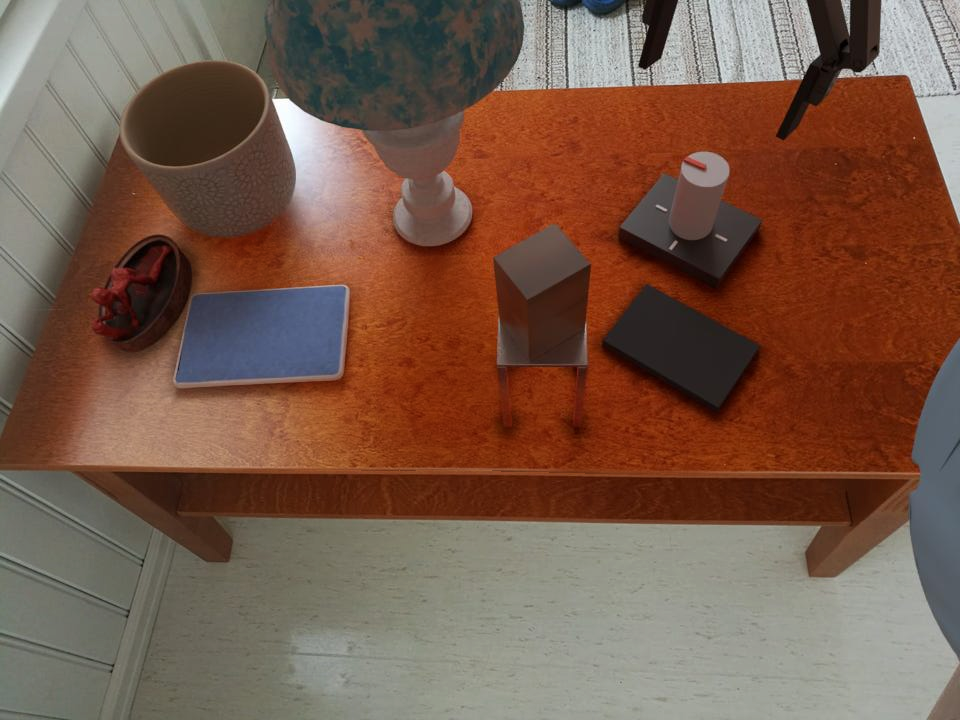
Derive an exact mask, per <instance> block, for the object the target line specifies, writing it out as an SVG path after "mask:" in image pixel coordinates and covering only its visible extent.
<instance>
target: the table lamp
mask: <svg viewBox="0 0 960 720" xmlns="http://www.w3.org/2000/svg"><path fill="white" fill-rule="evenodd" d="M524 21H525V20H524V16H523V9H522V4H521V0H266V1H265V10H264V30H265V31H264V32H265V40H266V48H267V54H268V59H269V64H270V69H271V72H272V75H273V76H274V78H275V81H276V83H277V85H278V87H279V89H280V90H281V91H282V93H283V94H284V95H285V96H286V97H287V99H288V100H289V101H290V102H291V103H292V104H294V105H295V106H296V107H298V108H299V109H300V110H301V111H302V112H304V113H306V114H308V115H310V116H312V117H314V118H315V119H318V120H319V121H322V122H325V123H327V124H331V125H334V126H338V127H341V128H347V129H352V130H353V129H354V130H360V131H362V134H363V135H364V137H365V138H366V140H367V141H368V143H370V145H371V146H373V148H374V149H375V152H376V154H377V156H378V157H379V159H380V160H381V161H382V163H383V164H384V165H385V167H386V168H388V170H390V171H391V172H392V173H394V174H395V175H397V176H398V177H401V178H402V179H403V178H404V180H403V181H402V183H401V186H400V194H401V197H400V199H399V200H398V201H397V203H396V205H395V207H394V209H393V213H392V214H393V215H392V222H393V226H394V228H395V230H396V232H397V234H398V235H400V237H401V238H402V239H404V240H405V241H407V242H409V243H411V244H414V245H415V246H421V247H438V246H442V245H445V244H448V243H450V242H452V241H454V240H456V239H457V238H459V237H460V236H462V234H463V233H465V231H466V230H467V229H468V227H469V226H470V224H471V221H472V218H473V205H472V202H471V199H469V197H468V196H467V194H465V193H464V192H463V191H462V190H461V189H459V188H458V187H456V186H455V184H454V181H453V180H454V179H453V178H452V176H451V175H450V174H449V173H448V172H446V171H445V170H447V168H448V167H449V166H450V165H451V164H452V162H453V161H454V159H455V158H456V155H457V153H458V149H459V146H460V140H461V129H462V127H463V124H464V122H465V114H466V113H465V110H467V109H469V108H471V107H472V106H474V105H476V104H478V103H479V102H481V101H482V100H484V98H486V97H487V96H489V95H490V94H491V93H492V92H494V91H495V90H496V89H497V87H498V86H500V84H501V83H502V82H504V80H505V79H506V78H507V77H508V76H509V74H510V73H511V71H512V69H513V68H514V66H515V65H516V63H517V61H518V59H519V56H520V53H521V51H522V48H523V45H524V44H523V43H524V34H525V22H524Z"/></svg>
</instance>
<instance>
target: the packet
mask: <svg viewBox="0 0 960 720" xmlns="http://www.w3.org/2000/svg"><path fill="white" fill-rule="evenodd" d="M492 260H493V271H494V280H495V288H496V289H495V290H496V291H495V292H496V300H497V308H498V312H499V320H500V323H501V325H502V326H503V327H504V329H505V330H506V331H507V333H508V334H509V335H510V337H511V338H512V339H513V341H514V342H515V343H516V345H517V346H518V347H519V349H520V350H521V351H522V353H523V354H524V355H525V356H526V358H527V359H528V360H529V362H530V361H532V360H533V359H535V358H537V357H539V356H540V355H542V354H544V353H545V352H547V351H549V350H551V349H552V348H554V347H556V346H557V345H559V344H561V343H562V342H564V341H566V340H568V339H569V338H571V337H573V336H574V335H576V334H578V333H579V332H581V331H583V330H585V324H586V325H587V314H588V313H587V311H588V303H589V302H588V301H589V291H590V281H591V280H590V279H591V272H592V271H591V269H592V263H591V262H590V261H589V260H588V259H587V258H586V256H585V255H584V254H583V253H582V252H581V250H580V249H578V247H577V246H576V245H575V244H574V243H573V241H572V240H571V239H570V238H569V237H568V236H567V235H566V234H565V232H564V231H563V230H562V229H561V227H559V225H558V224H557V223H556V222H554V223H553V224H550V225H549V226H547V227H545V228H543V229H541V230H540V231H538V232H535V233H534V234H532V235H530V236H529V237H526V238H525V239H523V240H521V241H519V242H518V243H515V244H514V245H512V246H511V247H508V248H506V249H505V250H503V251H501V252H499V253H498V254H496V255H494V256H493V257H492Z"/></svg>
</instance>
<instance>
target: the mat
mask: <svg viewBox="0 0 960 720" xmlns="http://www.w3.org/2000/svg"><path fill="white" fill-rule="evenodd" d="M601 346H603V347H604V348H606V349H608V350H609V351H611V352H612V353H614V354H616V355H618V356H619V357H621V358H622V359H624V360H626V361H628V362H630V363H632V364H634V366H636V367H638V368H640V369H641V370H643V371H645V372H646V373H648V374H650V375H651V376H653V377H655V378H657V379H659V380H660V381H662V382H663V383H666V384H667V385H669V386H670V387H672V388H674V389H675V390H677V391H679V392H680V393H683V394H684V395H685V396H688V397H689V398H691V399H692V400H694V401H696V402H698V403H699V404H701V405H703V407H706V408H707V409H710V410H711V411H713V412H714V413H717V412H718V411H719V410H720V408H721V407H722V405H723V404H724V403H725V400H726V399H727V398H728V397H729V395H730V393H731V392H732V390H733V388H734V387H735V386H736V384H737V383H738V381H739V380H740V379H741V377H742V375H743V374H744V373H745V371H746V369H747V368H748V367H749V365H750V363H751V362H752V360H753V358H755V356H756V354H757V353H758V351H759V349H760V347H761V345H760V344H759V343H757V342H755V341H753V340H751V339H750V338H748V337H746V336H744V335H742V334H740V333H738V332H737V331H734V330H733V329H731V328H729V327H727V326H725V325H723V324H722V323H720V322H718V321H716V320H714V319H712V318H711V317H710V316H709V317H708V316H707V315H705V314H703V313H701V312H700V311H698V310H696V309H694V308H693V307H691V306H688V305H687V304H685V303H683V302H681V301H679V300H677V299H675V298H673V297H672V296H670V295H669V294H667V293H665V292H663V291H661V290H659V289H657V288H656V287H653V286H651V285H649V284H648V283H646V284H645V285H644V286H643V287H642V289H641V290H640V291H639V293H638V294H637V295H636V296H635V298H634V299H633V301H631V303H630V304H629V305H628V307H627V308H626V309H625V311H624V312H623V313H622V315H621V316H620V317H619V319H618V320H617V321H616V322H615V324H614V325H613V326H612V327H611V329H610V330H609V332H608V333H607V334H606V335H605V336H604V338H603V339H602V343H601Z"/></svg>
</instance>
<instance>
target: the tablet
mask: <svg viewBox="0 0 960 720" xmlns="http://www.w3.org/2000/svg"><path fill="white" fill-rule="evenodd" d="M350 303H351V289H350V288H349V286H347V285H346V284H329V285H328V284H327V285H314V286H313V285H312V286H311V285H310V286H296V287H280V288H264V289H263V288H261V289H246V290H245V289H244V290H229V291H228V290H227V291H214V292H210V291H209V292H197V293H195V294H192V296H191V297H190V298H189V302H188V307H187V312H186V317H185V322H184V326H183V331H182V336H181V340H180V345H179V350H178V355H177V359H176V364H175V369H174V373H173V377H172V383H173V385H174V387H175V388H177V389H181V390H182V389H194V388H195V389H196V388H208V387H210V388H211V387H225V386H227V387H228V386H242V385H243V386H245V385H246V386H247V385H262V384H263V385H266V384H285V383H286V384H287V383H306V382H307V383H308V382H329V381H338V380H340V379H342V377H343V376H344V373H345V363H346V353H347V342H348V331H349V320H350V307H351V306H350Z"/></svg>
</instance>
